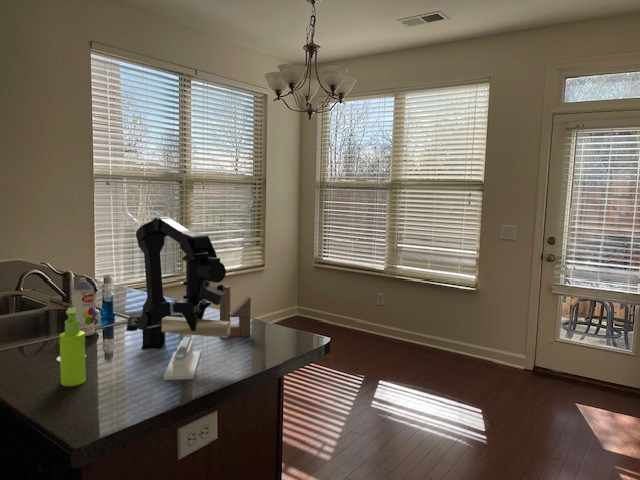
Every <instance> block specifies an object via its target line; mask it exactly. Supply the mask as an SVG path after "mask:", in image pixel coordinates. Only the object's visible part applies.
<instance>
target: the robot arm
mask: <svg viewBox="0 0 640 480" xmlns="http://www.w3.org/2000/svg"><path fill="white" fill-rule="evenodd" d="M166 237H169V238H170V239H172V240H174V241H175V242H177V243H178V244H179V248H180V250H182V251H183V253H184V254H185V255H184V256H182V259H181V260H182V261H185V263H186V264H185V280H184V281H183V286H185V294H184V295H183V294H182V295H183V298H182V299H179V300H176V301H175V302H174V303H173V304H172V311H171V302H170V301H167V300H166V298H165V297H164V292H163V291H164V290H163V289H164V286H163V278H162V277H163V276H162V262H161V261H162V260H161V252H162V249H163V248H164V246H165V242H166V240H165V239H166ZM135 238H136V241H137V245H138V247H139V249H140V250H141V252H142V253H143V256H144V258H143V259H144V260H143V261H144V272H145V285H146V300H145V302H144V304H143V306H142V314H140V315H141V317H140V318H139V320H138V321H137V326H138V328H137V329H138V330H141V331H142V345H141V349H142V350H143V349H147V350H149V349H163V347H164V346H165V345H166V343H167V339H166V338H167V333H166V332H162V318H164V317H166V316H169V317H171V314H172V312H173V313H175V314H182V316H183V318H185V319H186V321H187V323H188V325H189V327H190V329H191V331H195V330H196V324H197V319H203V318H204V315H205V311H206V309H208V307H210V305H212V304H213V305H215V306H220V303H222V302H223V299H224V297H225V296H226V291H225V286H226V285H223V284H218V283H220V282H222V281H223V280H224V279H225V277H226V275H227V269H226V267H225V265H224V264H223V262H221V258H220V257H218V256H217V252H216V250H215V248H214V246H213V244H212V242H211V239H210V237H209V235H207V233H206V234H205V233H202V232H198V231H194V230H193V231H192V230H190V229H188V228H186V227H185V226H183V225H182V224H180V223H178V222H177V221H175V220H173V218H172V217H169V216H157V217H155V218H153V219H152V220H151V221H148V222H147V223H144V224H143V225H141V226H139V228H138V229H137V230H136V232H135ZM211 282H212V283H217V284H218V285H217V286H212V285H210V284H211Z"/></svg>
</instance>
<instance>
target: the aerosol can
mask: <svg viewBox="0 0 640 480" xmlns="http://www.w3.org/2000/svg"><path fill="white" fill-rule="evenodd" d="M86 278H87V277H80V278H79V280H78V282H77V283H76V284H75V285H74V286H72V288H71V299H72V302H71V303H72V304H71V305H72V306H71V308H74V307H76V311H75V314H76V319H78V320H79V331H83V332H85V336H89V337H92V336H94V335H95V331H96V330H95V329H96V328H95V289H94V285H91V283H90V282H89V281H87V280H86ZM93 334H94V335H93ZM91 335H92V336H91Z"/></svg>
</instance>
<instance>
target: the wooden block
mask: <svg viewBox="0 0 640 480" xmlns="http://www.w3.org/2000/svg"><path fill="white" fill-rule="evenodd" d="M224 286H225V291H226V296H225V297H224V299H223V302H222V303H220V304H219V321H229V322H230V323H231V318H238V324H230V335H229V336H228V337H227V338H231V337H232V338H233V337H234V338H235V337H250V336H251V307H252V306H251V304H252V303H251V300H252V298H251V296H250V295H248V294H247V296H246V297H245V298H244V299H243V300H242V301H241V302H240V303H239V304H238V306H236V307H235V308H234V309H233V310H232V311H231V286H229V285H224ZM219 338H220V339H221V338H222V337H219ZM222 339H223V338H222Z"/></svg>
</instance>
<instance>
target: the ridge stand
mask: <svg viewBox="0 0 640 480" xmlns="http://www.w3.org/2000/svg"><path fill="white" fill-rule="evenodd" d="M191 338H192V337H191V336H183V338H182V339H180V340H181V341H180V342H179V344H178V347H177V350H176V351H174V352H173V354H172V356H171V359H170V361H169V363H168V366H167V368H166V370H165V372H164V374H163V377H162V379H163V381H168V380H169V381H170V380H171V381H172V380H173V381H174V380H194V379H195V376H196V372H197V368H198V365H199V361H200V358H201V355H202V354H201V353H202V351H201V350H194V340H193V339H191Z"/></svg>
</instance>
